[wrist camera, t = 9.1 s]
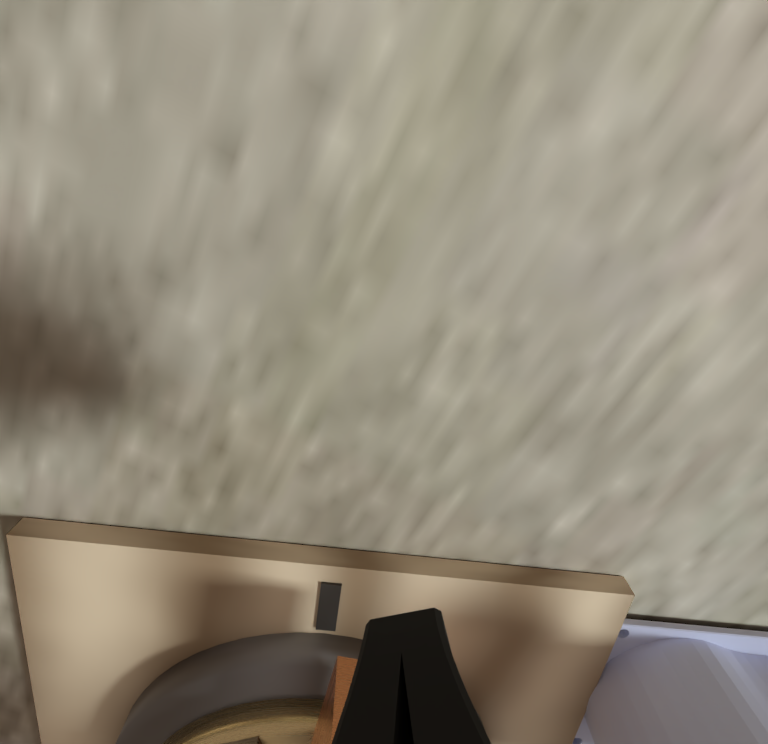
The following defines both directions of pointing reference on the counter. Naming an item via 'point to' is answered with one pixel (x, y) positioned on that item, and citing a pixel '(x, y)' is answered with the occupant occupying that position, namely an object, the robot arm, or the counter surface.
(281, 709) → the studded brass disc
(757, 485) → the counter surface
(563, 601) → the nut base
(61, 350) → the counter surface
